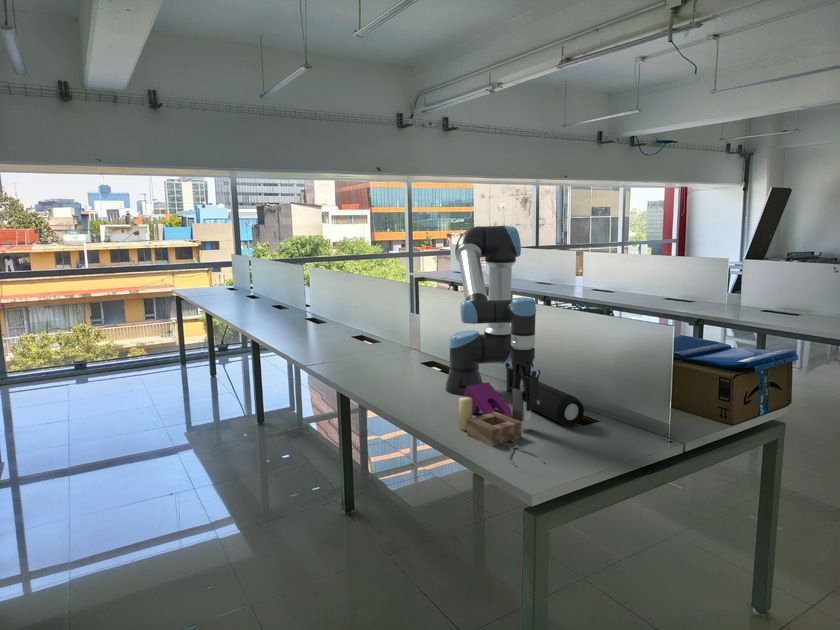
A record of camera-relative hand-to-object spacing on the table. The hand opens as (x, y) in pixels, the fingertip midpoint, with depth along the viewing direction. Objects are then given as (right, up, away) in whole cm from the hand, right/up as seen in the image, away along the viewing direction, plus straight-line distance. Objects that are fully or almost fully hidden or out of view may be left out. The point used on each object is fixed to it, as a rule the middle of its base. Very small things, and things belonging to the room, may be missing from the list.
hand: (521, 417), depth 183 cm
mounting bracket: (-9, -2, +14) cm, 17 cm away
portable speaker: (+12, -2, +13) cm, 18 cm away
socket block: (-10, -5, -5) cm, 12 cm away
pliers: (-5, -8, -18) cm, 20 cm away
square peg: (0, 0, 0) cm, 0 cm away
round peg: (-18, -4, +2) cm, 18 cm away
